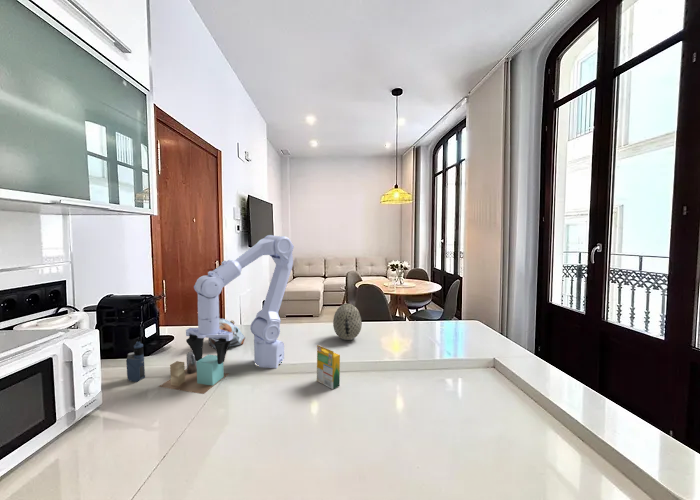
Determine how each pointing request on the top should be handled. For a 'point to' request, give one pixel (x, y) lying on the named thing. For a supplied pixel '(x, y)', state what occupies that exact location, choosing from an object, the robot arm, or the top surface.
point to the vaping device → (136, 364)
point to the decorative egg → (347, 322)
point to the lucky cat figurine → (229, 327)
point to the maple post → (177, 373)
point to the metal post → (191, 363)
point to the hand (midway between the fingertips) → (209, 361)
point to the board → (190, 384)
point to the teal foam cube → (209, 370)
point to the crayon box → (328, 367)
